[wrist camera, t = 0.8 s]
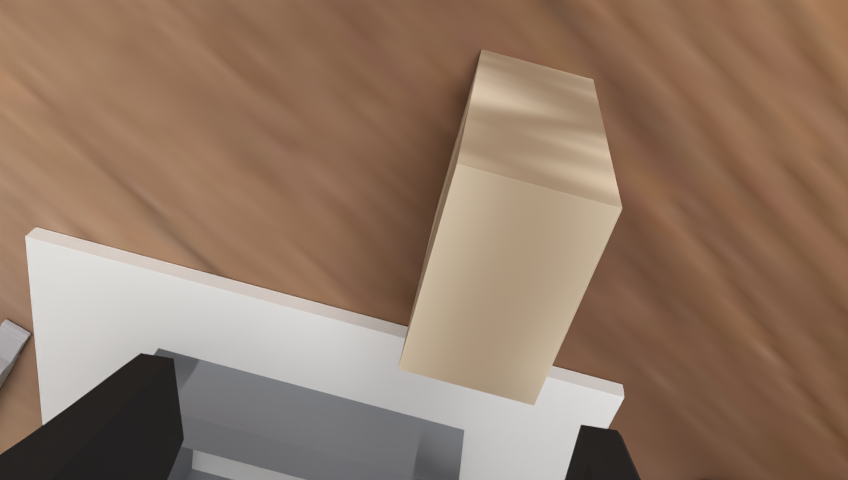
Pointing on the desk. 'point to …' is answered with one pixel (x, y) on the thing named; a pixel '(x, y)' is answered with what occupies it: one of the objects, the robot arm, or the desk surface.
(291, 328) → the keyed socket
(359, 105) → the desk surface
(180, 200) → the desk surface
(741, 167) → the desk surface
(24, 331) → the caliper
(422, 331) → the key block
